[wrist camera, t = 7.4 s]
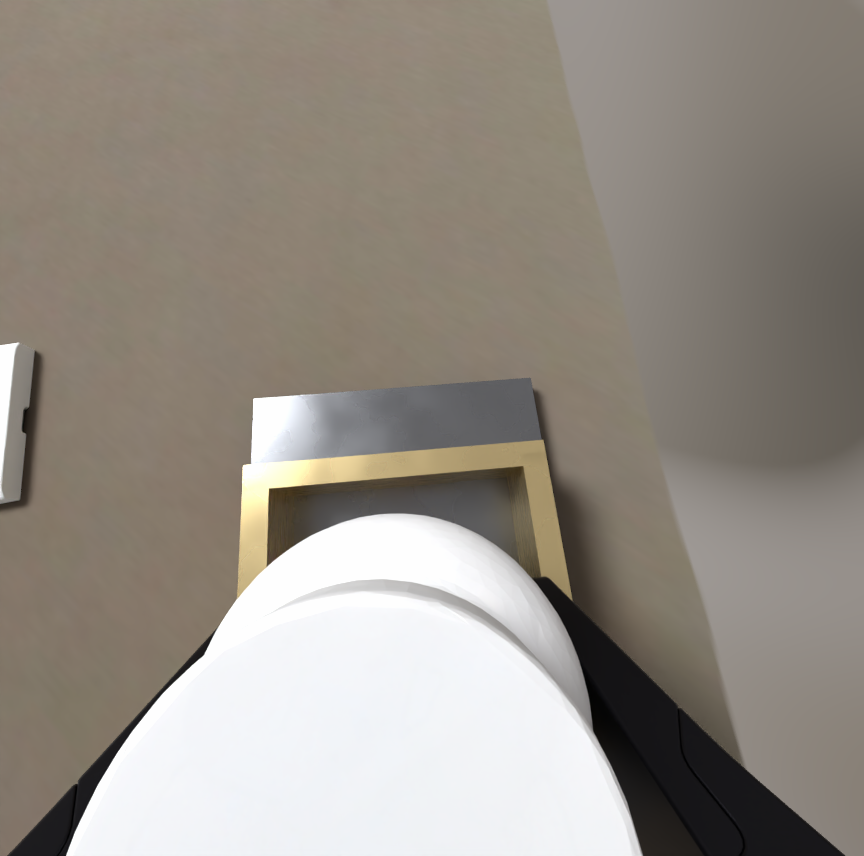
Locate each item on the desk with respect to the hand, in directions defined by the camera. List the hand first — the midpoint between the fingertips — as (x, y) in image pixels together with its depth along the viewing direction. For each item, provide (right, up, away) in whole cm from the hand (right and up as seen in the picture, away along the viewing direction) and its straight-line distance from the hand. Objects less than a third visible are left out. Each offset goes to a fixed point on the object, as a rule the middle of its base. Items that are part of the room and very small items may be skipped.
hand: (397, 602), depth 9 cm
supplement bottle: (0, -3, +6) cm, 7 cm away
